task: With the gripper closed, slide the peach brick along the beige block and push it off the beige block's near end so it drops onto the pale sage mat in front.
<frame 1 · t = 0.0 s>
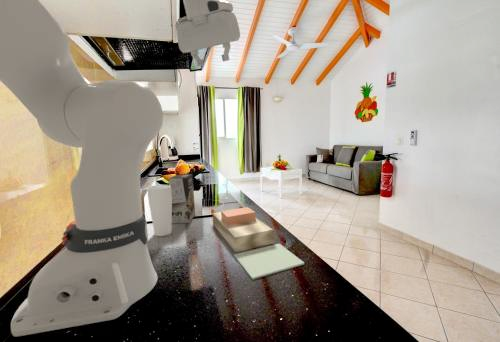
hand: (213, 63, 73), 52 cm above the countertop, tool tilted 20°, fingers open, 8 cm apart
coffee box: (184, 219, 87), on the countertop
mat: (267, 259, 56), on the countertop
beige block: (240, 233, 73), on the countertop
peach brick: (238, 215, 73), point 5 cm above the countertop, touching beige block
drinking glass: (163, 234, 74), on the countertop
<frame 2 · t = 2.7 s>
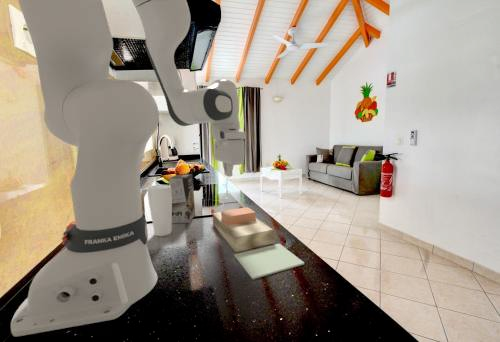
hand: (228, 175, 78), 17 cm above the countertop, tool pointing down, fingers closed
nothing on the countertop moved.
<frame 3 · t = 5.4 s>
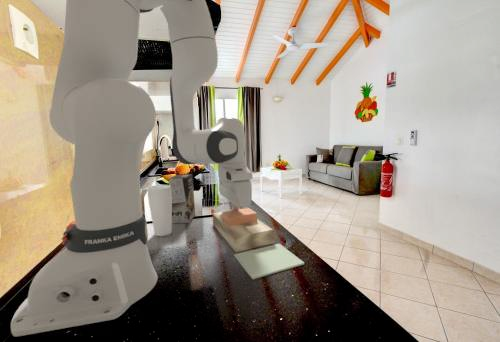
hand: (234, 213, 76), 5 cm above the countertop, tool pointing down, fingers closed
peach brick: (239, 216, 72), point 5 cm above the countertop, touching gripper
everything else where it was.
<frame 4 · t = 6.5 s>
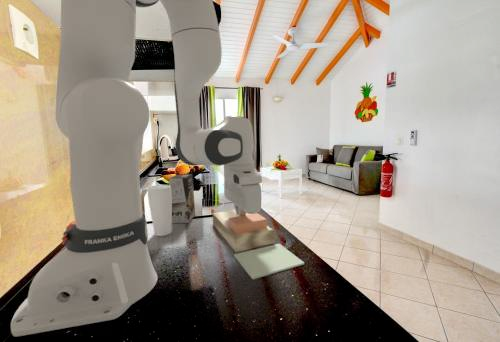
hand: (241, 219, 70), 5 cm above the countertop, tool pointing down, fingers closed
peach brick: (247, 222, 66), point 5 cm above the countertop
everything else where it was.
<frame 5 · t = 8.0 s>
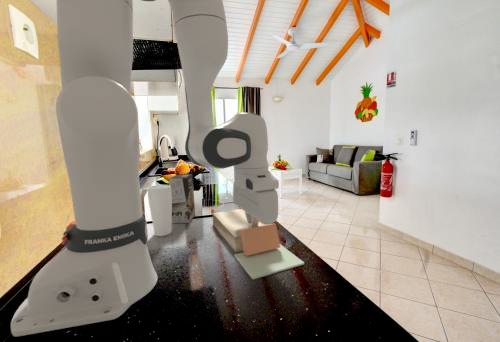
hand: (252, 228, 63), 5 cm above the countertop, tool pointing down, fingers closed
peach brick: (260, 238, 59), point 4 cm above the countertop, tilted 71°, touching mat
everything else where it was.
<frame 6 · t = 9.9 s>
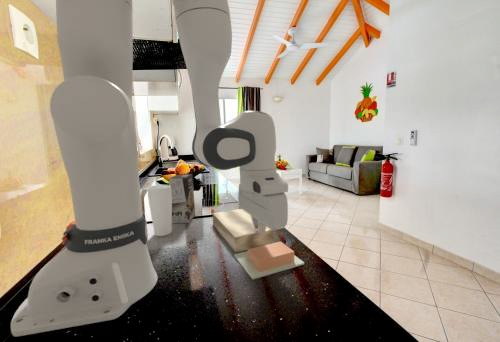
hand: (259, 234, 59), 5 cm above the countertop, tool pointing down, fingers closed
peach brick: (270, 255, 55), point 2 cm above the countertop, tilted 180°, touching mat
everything else where it was.
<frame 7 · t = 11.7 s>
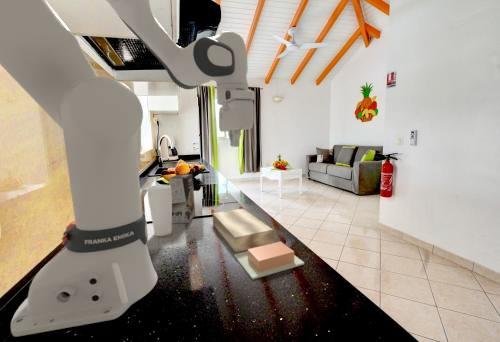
hand: (234, 146, 69), 26 cm above the countertop, tool pointing down, fingers closed
nothing on the countertop moved.
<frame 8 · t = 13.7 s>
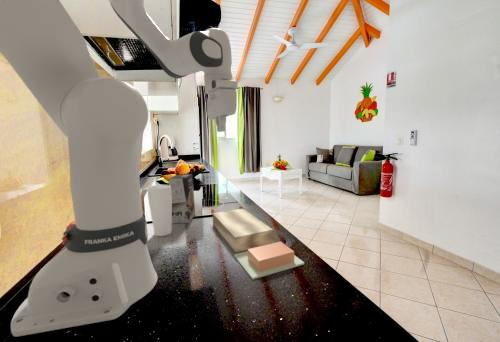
hand: (221, 131, 77), 31 cm above the countertop, tool pointing down, fingers closed
nothing on the countertop moved.
at the end: peach brick inside the target area (1.2 cm from its centre), point 1.6 cm above the countertop; peach brick touching mat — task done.
